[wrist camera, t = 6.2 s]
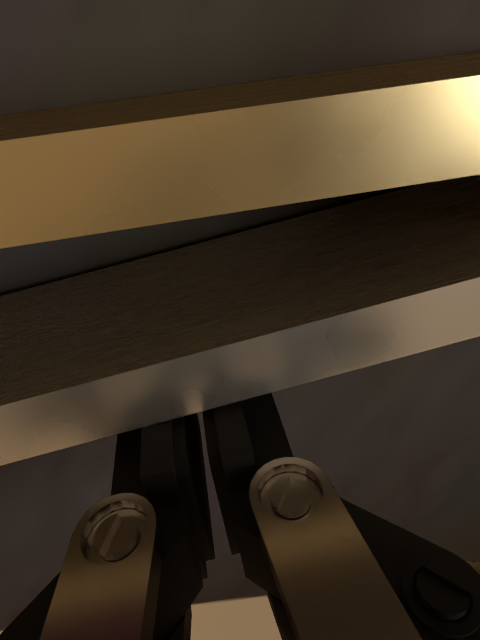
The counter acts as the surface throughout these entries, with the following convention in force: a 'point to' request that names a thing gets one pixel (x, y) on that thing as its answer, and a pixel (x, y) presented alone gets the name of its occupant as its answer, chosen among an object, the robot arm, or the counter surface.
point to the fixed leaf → (236, 148)
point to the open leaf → (238, 317)
